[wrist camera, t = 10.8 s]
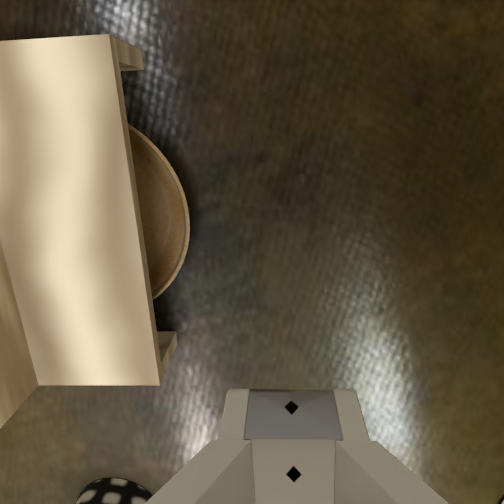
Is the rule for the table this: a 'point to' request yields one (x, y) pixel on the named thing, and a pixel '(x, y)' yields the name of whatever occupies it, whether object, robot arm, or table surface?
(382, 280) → the table surface
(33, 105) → the wooden step block
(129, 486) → the white-spotted black cylinder
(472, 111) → the table surface
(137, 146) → the plant saucer
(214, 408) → the table surface
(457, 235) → the table surface
